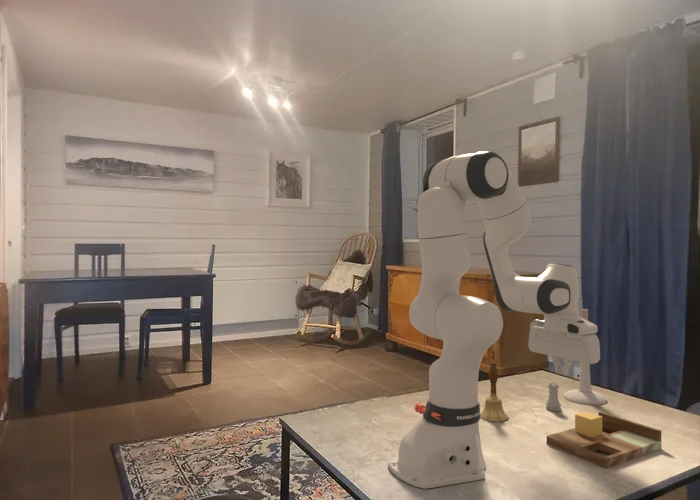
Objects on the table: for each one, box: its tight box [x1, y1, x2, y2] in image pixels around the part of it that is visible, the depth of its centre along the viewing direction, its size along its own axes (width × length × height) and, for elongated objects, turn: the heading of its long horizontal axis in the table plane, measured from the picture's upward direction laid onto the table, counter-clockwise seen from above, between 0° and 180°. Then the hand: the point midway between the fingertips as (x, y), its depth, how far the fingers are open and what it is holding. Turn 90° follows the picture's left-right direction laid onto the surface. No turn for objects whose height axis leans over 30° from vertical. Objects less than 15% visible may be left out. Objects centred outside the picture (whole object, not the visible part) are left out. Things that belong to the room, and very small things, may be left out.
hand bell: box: [480, 362, 510, 423], centre depth 143 cm, size 8×8×16 cm
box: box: [546, 411, 663, 469], centre depth 121 cm, size 22×16×4 cm
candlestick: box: [563, 308, 608, 406], centre depth 160 cm, size 13×13×30 cm
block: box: [574, 411, 602, 437], centre depth 125 cm, size 4×4×4 cm
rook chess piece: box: [545, 381, 562, 412], centre depth 150 cm, size 4×4×8 cm
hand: (562, 373), depth 132 cm, fingers closed
